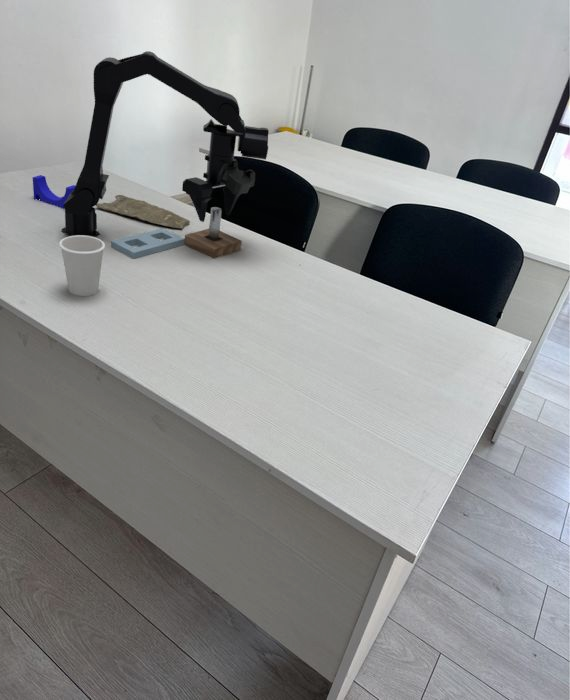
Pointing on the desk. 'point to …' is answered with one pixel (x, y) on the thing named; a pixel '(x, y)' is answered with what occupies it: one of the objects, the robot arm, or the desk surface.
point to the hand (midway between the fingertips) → (215, 218)
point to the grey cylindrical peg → (214, 224)
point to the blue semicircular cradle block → (49, 192)
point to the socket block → (212, 243)
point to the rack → (147, 243)
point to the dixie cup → (82, 263)
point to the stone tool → (144, 212)
